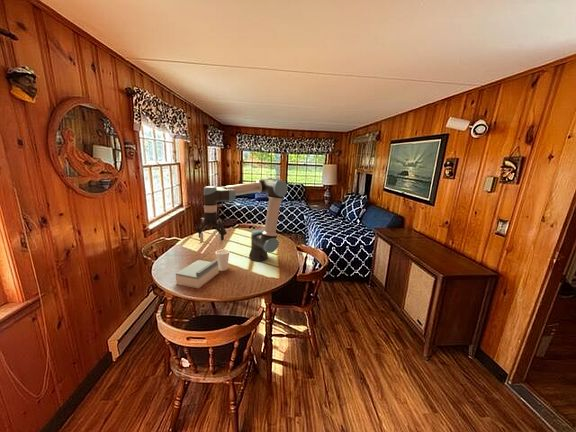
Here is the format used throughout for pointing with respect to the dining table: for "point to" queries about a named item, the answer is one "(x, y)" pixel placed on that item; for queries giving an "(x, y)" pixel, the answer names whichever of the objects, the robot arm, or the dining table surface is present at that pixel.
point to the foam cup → (222, 259)
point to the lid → (197, 269)
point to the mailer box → (197, 282)
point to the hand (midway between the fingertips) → (211, 243)
